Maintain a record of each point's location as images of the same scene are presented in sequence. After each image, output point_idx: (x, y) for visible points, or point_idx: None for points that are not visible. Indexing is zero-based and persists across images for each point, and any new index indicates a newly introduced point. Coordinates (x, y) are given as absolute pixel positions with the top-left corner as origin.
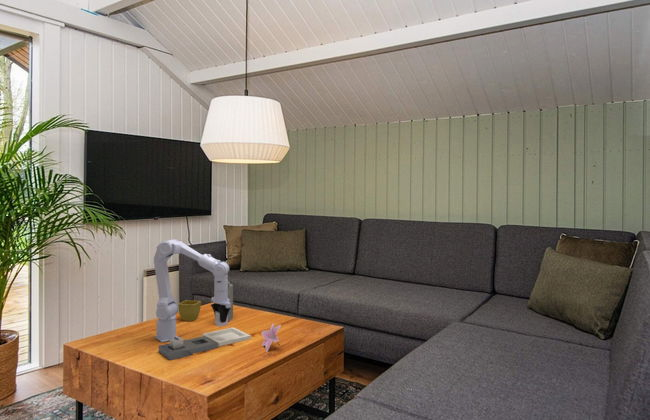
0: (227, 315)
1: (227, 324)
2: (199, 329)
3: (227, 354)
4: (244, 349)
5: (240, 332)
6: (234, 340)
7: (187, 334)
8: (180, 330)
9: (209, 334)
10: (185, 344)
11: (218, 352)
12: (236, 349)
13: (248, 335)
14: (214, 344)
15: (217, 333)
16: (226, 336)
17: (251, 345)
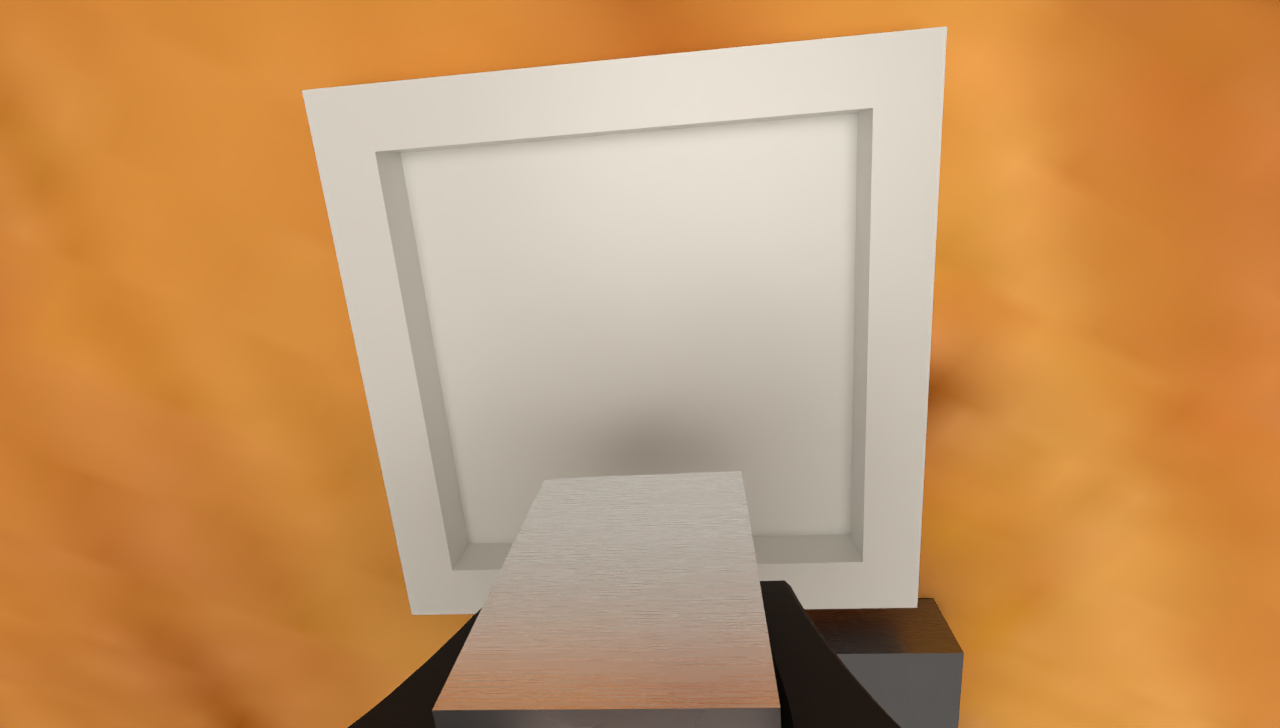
0: (764, 620)
1: (741, 483)
2: (57, 469)
3: (1205, 584)
4: (1226, 332)
5: (660, 116)
6: (923, 359)
7: (210, 647)
8: (26, 651)
9: (450, 530)
10: None
11: (1054, 632)
12: (1134, 421)
13: (917, 66)
14: (957, 679)
15: (434, 410)
16: (575, 325)
17: (1160, 161)
